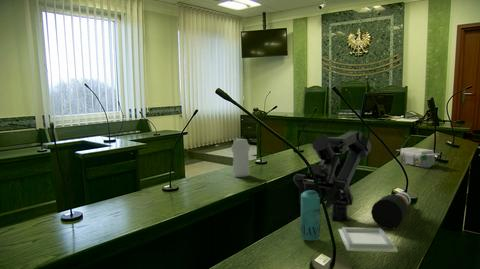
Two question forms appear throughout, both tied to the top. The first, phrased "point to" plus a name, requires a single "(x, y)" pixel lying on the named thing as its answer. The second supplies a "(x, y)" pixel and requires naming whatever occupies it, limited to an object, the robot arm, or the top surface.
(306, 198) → the beverage bottle
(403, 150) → the electrical outlet
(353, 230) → the white square tray
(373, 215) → the black cylinder
